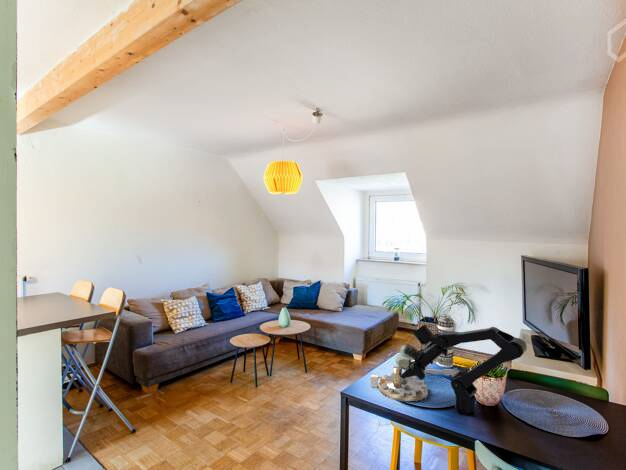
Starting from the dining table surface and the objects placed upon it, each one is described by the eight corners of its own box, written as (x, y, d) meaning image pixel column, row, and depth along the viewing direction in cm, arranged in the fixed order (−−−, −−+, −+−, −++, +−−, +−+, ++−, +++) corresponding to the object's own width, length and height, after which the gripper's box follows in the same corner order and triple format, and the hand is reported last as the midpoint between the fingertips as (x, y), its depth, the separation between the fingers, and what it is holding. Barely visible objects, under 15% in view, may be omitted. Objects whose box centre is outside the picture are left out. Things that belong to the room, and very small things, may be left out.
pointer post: (381, 386, 156) (382, 375, 156) (381, 388, 154) (381, 378, 154) (371, 384, 157) (371, 374, 157) (370, 386, 155) (370, 376, 155)
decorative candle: (433, 360, 188) (434, 314, 188) (451, 361, 187) (452, 315, 187) (437, 367, 179) (438, 319, 178) (456, 368, 178) (457, 319, 177)
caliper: (459, 381, 163) (460, 368, 163) (459, 382, 162) (459, 368, 162) (416, 370, 174) (417, 358, 174) (416, 371, 174) (416, 359, 173)
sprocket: (435, 390, 148) (436, 368, 148) (401, 400, 139) (401, 376, 139) (404, 373, 165) (404, 353, 165) (371, 381, 156) (372, 360, 156)
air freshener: (417, 365, 181) (418, 346, 181) (416, 371, 173) (416, 351, 173) (396, 362, 185) (396, 343, 185) (394, 367, 177) (394, 348, 177)
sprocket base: (426, 383, 160) (426, 380, 160) (429, 405, 139) (429, 401, 139) (380, 377, 165) (380, 374, 165) (376, 397, 145) (376, 394, 145)
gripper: (414, 333, 154) (388, 355, 157) (416, 345, 136) (387, 370, 139) (432, 352, 152) (406, 374, 155) (437, 367, 134) (407, 392, 137)
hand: (401, 377), depth 147 cm, fingers closed, pressing on sprocket
